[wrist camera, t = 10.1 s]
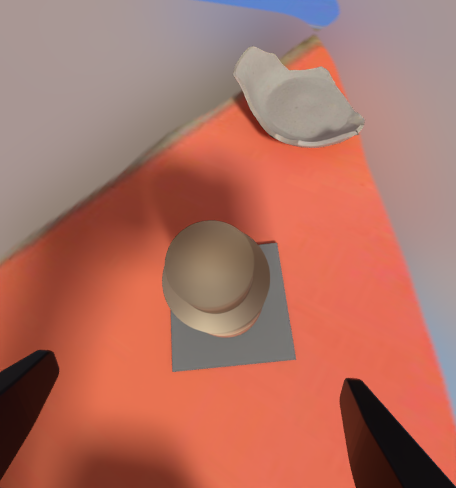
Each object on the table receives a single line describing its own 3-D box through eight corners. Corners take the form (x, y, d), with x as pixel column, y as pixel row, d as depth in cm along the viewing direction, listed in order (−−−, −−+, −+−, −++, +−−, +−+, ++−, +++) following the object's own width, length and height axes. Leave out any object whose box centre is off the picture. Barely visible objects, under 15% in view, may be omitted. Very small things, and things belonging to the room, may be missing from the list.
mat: (295, 359, 21) (296, 359, 20) (173, 371, 21) (172, 371, 21) (276, 243, 24) (276, 242, 23) (170, 255, 24) (169, 254, 24)
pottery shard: (356, 171, 26) (381, 133, 21) (233, 172, 27) (230, 136, 22) (345, 84, 29) (363, 34, 24) (236, 88, 30) (234, 40, 25)
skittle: (247, 348, 21) (251, 354, 10) (185, 323, 22) (119, 301, 10) (269, 284, 22) (293, 223, 11) (209, 263, 23) (175, 186, 12)
